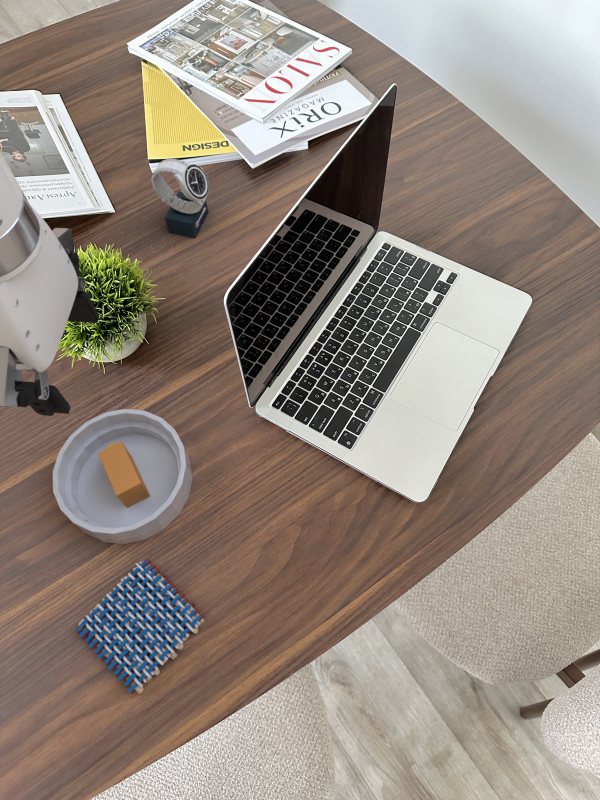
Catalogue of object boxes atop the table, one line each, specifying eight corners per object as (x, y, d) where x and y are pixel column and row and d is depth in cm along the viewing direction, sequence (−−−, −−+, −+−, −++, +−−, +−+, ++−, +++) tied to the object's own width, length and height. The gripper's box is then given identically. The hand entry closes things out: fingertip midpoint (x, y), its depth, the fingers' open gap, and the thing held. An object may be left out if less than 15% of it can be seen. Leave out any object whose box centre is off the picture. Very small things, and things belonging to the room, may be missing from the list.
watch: (207, 241, 94) (194, 184, 85) (158, 230, 96) (140, 173, 86) (220, 214, 97) (209, 156, 87) (172, 204, 98) (156, 146, 88)
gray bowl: (94, 569, 72) (79, 558, 67) (51, 462, 78) (35, 446, 74) (213, 505, 75) (207, 491, 71) (162, 407, 81) (154, 388, 77)
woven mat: (211, 620, 69) (208, 617, 67) (137, 699, 65) (132, 698, 64) (148, 556, 72) (144, 552, 71) (75, 628, 69) (69, 625, 67)
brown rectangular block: (127, 508, 74) (116, 495, 71) (104, 456, 78) (92, 442, 74) (150, 496, 75) (141, 483, 71) (126, 445, 78) (116, 430, 74)
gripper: (-29, 140, 47) (57, 285, 62) (-128, 332, 39) (-2, 445, 54) (68, 145, 46) (131, 290, 61) (-12, 341, 38) (83, 453, 53)
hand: (69, 362), depth 58 cm, fingers open, 9 cm apart
